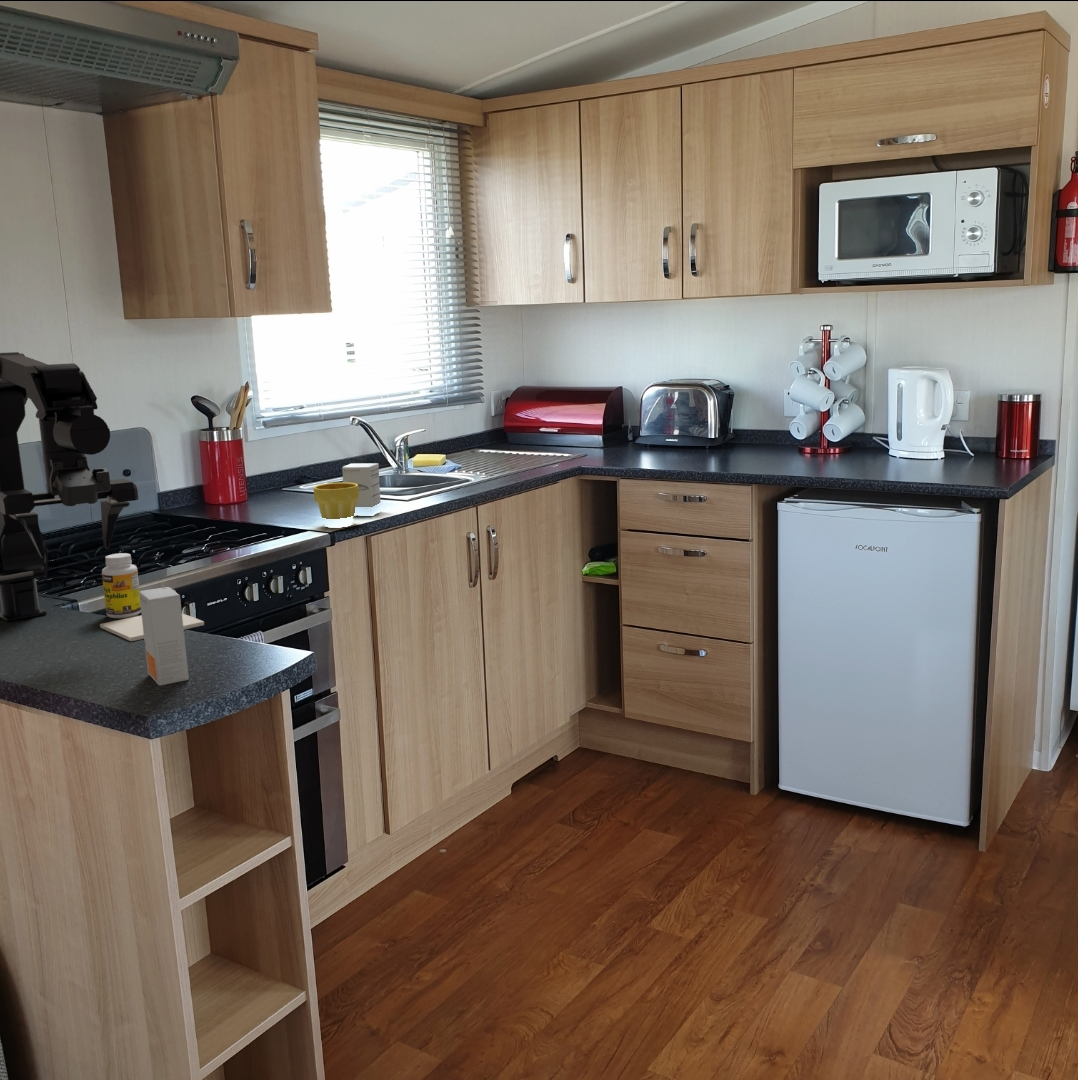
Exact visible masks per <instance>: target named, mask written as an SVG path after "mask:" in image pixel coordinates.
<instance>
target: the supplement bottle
mask: <svg viewBox="0 0 1078 1080" xmlns="http://www.w3.org/2000/svg"><path fill="white" fill-rule="evenodd" d="M104 558H105V567H104V568H102V570H101V577H102V586H103V594H104V603H105V612H106V613H105V614H106V616H107V617H108V618H111V619H127V618H131V617H136V616H139V614H141V605H140V596H139V591H141V590H140V582H139V574H138V573H139V571H138V567H137V565H135V564H132V556H131V554H130V553H127V552H124V553H123V552H122V553H112V554H109V555H106V556H105V557H104Z"/></svg>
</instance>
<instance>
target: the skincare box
mask: <svg viewBox="0 0 1078 1080" xmlns="http://www.w3.org/2000/svg"><path fill="white" fill-rule="evenodd" d="M139 596H140V605H141V612H140V614H141V615H142V623H143V632H144V647H145V658H146V665H147V673H148V675H149V677H151V678H152V679H153V681H154V682H155V683H156V684H157V686H164V685H165V686H166V685H169V684H174V683H180V682H185V681H189V679H190V677H189V676H190V675H189V667H188V658H187V651H186V640H185V638H186V637H185V629H184V628H183V619H182V613H183V612H182V604H181V603H182V602H181V594H179V593H177V592H176V590H175V589H173V588H171V587H170V586H167V587H166V586H165V587H158V588H151V589H144V590H140V591H139Z"/></svg>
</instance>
